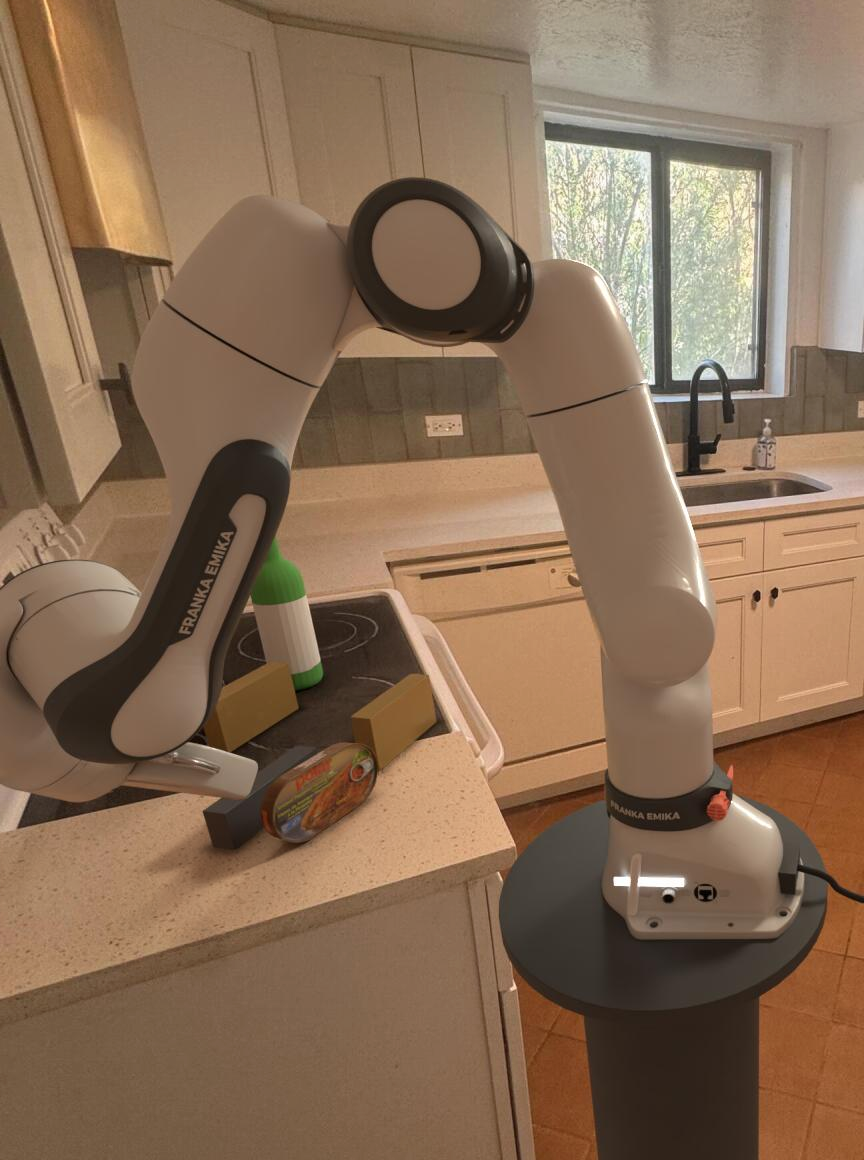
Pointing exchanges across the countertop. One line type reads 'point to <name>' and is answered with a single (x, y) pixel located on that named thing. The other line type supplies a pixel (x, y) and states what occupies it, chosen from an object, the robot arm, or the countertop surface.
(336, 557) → the countertop surface
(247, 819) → the grey rectangular block
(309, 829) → the tin
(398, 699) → the khaki rectangular brick
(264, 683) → the tan cardboard-coloured block
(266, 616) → the wine bottle
